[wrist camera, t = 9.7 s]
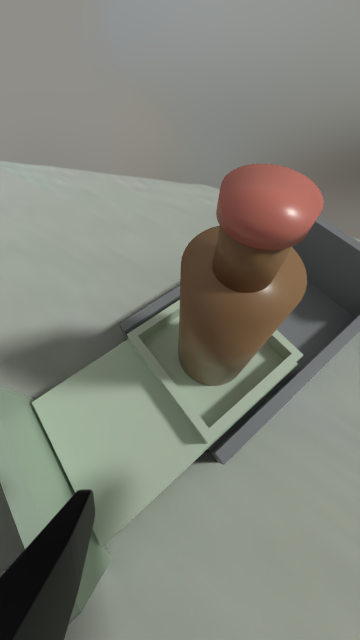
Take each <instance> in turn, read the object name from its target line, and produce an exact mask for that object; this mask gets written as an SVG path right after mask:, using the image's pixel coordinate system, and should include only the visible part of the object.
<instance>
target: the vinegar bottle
mask: <svg viewBox="0 0 360 640" xmlns="http://www.w3.org/2000/svg"><path fill="white" fill-rule="evenodd" d="M322 208H323V197H322V194H321V192H320V190H319V189H318V187H317V186H316V185H315V184H314V183H313V182H312V181H311V180H310V179H308V178H307V177H306V176H304V175H302V174H301V173H299V172H297V171H294V170H292V169H289V168H286V167H283V166H278V165H272V164H251V165H246V166H242V167H239V168H237V169H235V170H233V171H231V172H230V173H229V174H228V175H226V177H225V178H224V179H223V181H222V184H221V188H220V193H219V199H218V205H217V212H216V214H217V220H218V222H219V224H220V226H216V227H213V228H210V229H208V230H205V231H204V232H202V233H200V234H199V235H197V236H196V237H195V238H194V239H193V240H192V241H191V242H190V243H189V244H188V246H187V247H186V249H185V251H184V253H183V256H182V261H181V280H180V311H179V343H178V356H179V361H180V364H181V366H182V368H183V370H184V371H185V372H186V374H187V375H188V376H189V377H191V378H192V379H193V380H195V381H197V382H198V383H201V384H204V385H208V386H219V385H223V384H226V383H229V382H230V381H232V380H233V379H235V378H236V377H237V376H238V374H239V373H240V372H241V371H242V370H243V369H244V367H245V366H246V365H247V364H248V363H249V361H250V360H251V359H252V358H253V357H254V356H255V354H256V353H257V352H258V351H259V350H260V348H261V347H262V346H263V345H264V344H265V343H266V341H267V340H268V339H269V338H270V337H271V336H272V334H273V333H274V332H275V331H276V330H277V328H278V327H279V326H280V325H281V324H282V323H283V321H284V320H285V319H286V318H287V317H288V315H289V314H290V313H291V312H292V311H293V310H294V308H295V307H296V306H297V305H298V304H299V302H300V301H301V299H302V298H303V296H304V293H305V291H306V286H307V274H306V269H305V266H304V264H303V262H302V260H301V258H300V256H299V255H298V253H297V252H296V251H295V250H294V249H293V247H292V246H294V245H296V244H298V243H299V242H301V241H302V240H303V239H304V238H305V237H306V235H307V234H308V232H309V231H310V229H311V227H312V226H313V224H314V222H315V221H316V219H317V218H318V216H319V214H320V213H321V211H322Z"/></svg>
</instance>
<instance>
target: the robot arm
mask: <svg viewBox="0 0 360 640" xmlns="http://www.w3.org/2000/svg"><path fill="white" fill-rule="evenodd" d="M94 519H95V504H94V495H93V491H92V490H91V489H81V490H78V491H77V492H76V493H75V494H74V495H73V496H72V497H71V498H70V499H69V500H68V502H67V503H66V504H65V505H64V506H63V507H62V508H61V509H60V511H59V512H58V513H57V514H56V515H55V516H54V517H53V518H52V520H51V521H50V522H49V523H48V524H47V525H46V526H45V527H44V529H43V530H42V531H41V532H40V533H39V534H38V535H37V536H36V538H35V539H34V540H33V541H32V542H31V543H30V544H29V546H28V547H27V548H26V549H25V550H24V551H23V552H22V553H21V555H20V556H19V557H18V558H17V559H16V560H15V561H14V562H13V564H12V565H11V566H10V567H9V568H8V569H7V570H6V571H5V573H4V574H3V575H2V576H1V577H0V640H64V637H65V634H66V630H67V627H68V624H69V621H70V617H71V614H72V611H73V608H74V604H75V601H76V597H77V594H78V590H79V586H80V582H81V578H82V573H83V569H84V564H85V560H86V555H87V551H88V546H89V542H90V537H91V533H92V528H93V524H94Z"/></svg>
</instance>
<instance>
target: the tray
mask: <svg viewBox="0 0 360 640" xmlns="http://www.w3.org/2000/svg"><path fill="white" fill-rule="evenodd" d="M179 311H180V300H178V301H177V302H175V303H174V304H172V305H171V306H169V307H168V308H166V309H165V310H163V311H162V312H160V313H158V314H157V315H155V316H154V317H152V318H151V319H149V320H148V321H146V322H145V323H143V324H142V325H140V326H139V327H137V328H136V329H134V330H132V331H131V332H129V333H128V334H127V336H128V339H127V340H125V341H124V342H122V343H121V344H119V345H118V346H116V347H115V348H113V349H112V350H110V351H109V352H107V353H106V354H104V355H103V356H101V357H100V358H98V359H97V360H95V361H94V362H92V363H91V364H89V365H88V366H86V367H85V368H83V369H82V370H80V371H79V372H77V373H75V374H74V375H72V376H71V377H69V378H68V379H66V380H65V381H63V382H62V383H60V384H59V385H57V386H56V387H54V388H53V389H51V390H50V391H48V392H47V393H45V394H44V395H42V396H41V397H39V398H38V399H36V400H35V401H34V399H33V398H31V397H28V396H25V395H22V394H19V393H17V392H14V391H11V390H8V389H5V388H2V387H0V483H1V486H2V489H3V491H4V494H5V497H6V500H7V502H8V505H9V508H10V510H11V513H12V516H13V518H14V521H15V524H16V527H17V529H18V532H19V535H20V537H21V540H22V543H23V546H24V548H25V549H26V548H27V547H28V546H29V544H30V543H31V542H32V541H33V540H34V539H35V538H36V536H37V535H38V534H39V533H40V532H41V531H42V530H43V529H44V527H45V526H46V525H47V524H48V523H49V522H50V521H51V520H52V518H53V517H54V516H55V515H56V514H57V513H58V512H59V511H60V509H61V508H62V507H63V506H64V505H65V504H66V503H67V502H68V500H69V499H70V498H71V497H72V496H73V495H74V494H75V493H76V492H77V491H78V490H81V489H91V490H92V491H93V495H94V504H95V519H94V524H93V528H92V533H91V537H90V542H89V546H88V551H87V555H86V560H85V564H84V569H83V573H82V578H81V582H80V586H79V590H78V594H77V597H76V601H75V604H74V608H73V611H72V614H71V617H70V621H69V623H70V622H71V621H73V620H74V619H75V618H76V617H77V616H78V615H79V614H80V613H81V611H82V609H83V607H84V606H85V604H86V602H87V601H88V599H89V597H90V595H91V594H92V592H93V590H94V588H95V587H96V585H97V583H98V582H99V580H100V578H101V576H102V575H103V573H104V571H105V569H106V568H107V566H108V564H109V562H110V561H111V557H110V555H109V553H108V551H107V549H106V547H105V544H106V543H107V542H109V541H110V540H111V539H112V538H113V537H114V536H115V535H116V534H117V533H118V532H119V531H120V530H121V529H122V528H123V527H125V526H126V525H127V524H128V523H129V522H130V521H131V520H132V519H133V518H134V517H135V516H136V515H137V514H138V513H140V512H141V511H142V510H143V509H144V508H145V507H146V506H147V505H148V504H149V503H150V502H151V501H152V500H153V499H155V498H156V497H157V496H158V495H159V494H160V493H161V492H162V491H163V490H164V489H165V488H166V487H167V486H168V485H170V484H171V483H172V482H173V481H174V480H175V479H176V478H177V477H178V476H179V475H180V474H181V473H182V472H183V471H184V470H186V469H187V468H188V467H189V466H190V465H191V464H192V463H193V462H194V461H195V460H196V459H197V458H198V457H199V456H201V455H202V454H203V453H204V452H205V451H206V450H207V449H208V448H209V447H210V446H211V445H212V444H213V443H214V442H216V441H217V440H218V439H219V438H220V437H221V436H222V435H223V434H224V433H225V432H226V431H227V430H228V429H229V428H231V427H232V426H233V425H234V424H235V423H236V422H237V421H238V420H239V419H240V418H241V417H242V416H243V415H244V414H245V413H247V412H248V411H249V410H250V409H251V408H252V407H253V406H254V405H255V404H256V403H257V402H258V401H259V400H260V399H262V398H263V397H264V396H265V395H266V394H267V393H268V392H269V391H270V390H271V389H272V388H273V387H274V386H275V385H277V384H278V383H279V382H280V381H281V380H282V379H283V378H284V377H285V376H286V375H287V374H288V373H289V372H290V371H292V370H293V369H294V368H295V367H296V366H297V365H298V363H297V361H298V360H299V359H300V358H301V357H302V356H303V354H302V353H301V352H300V351H299V350H298V349H297V348H296V347H295V346H294V345H293V344H292V343H290V342H289V341H288V340H287V339H286V338H285V337H284V336H283V335H282V334H281V333H280V332H279V331H278V330H276V331H275V332H274V333H273V334H272V336H271V337H270V338H269V339H268V340H267V341H266V343H265V344H264V345H263V346H262V347H261V348H260V350H259V351H258V352H257V353H256V354H255V356H254V357H253V358H252V359H251V360H250V361H249V363H248V364H247V365H246V366H245V367H244V369H243V370H242V371H241V372H240V373H239V374H238V376H237V377H236V378H235V379H233V380H232V381H230V382H229V383H226V384H223V385H219V386H208V385H204V384H201V383H198V382H197V381H195V380H193V379H192V378H191V377H189V376H188V375H187V374H186V372H185V371H184V370H183V368H182V366H181V364H180V361H179V356H178V343H179Z"/></svg>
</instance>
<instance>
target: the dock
mask: <svg viewBox="0 0 360 640" xmlns="http://www.w3.org/2000/svg"><path fill="white" fill-rule="evenodd" d="M292 247H293V249H294V250H295V251H296V252H297V253H298V255H299V256H300V258H301V260H302V262H303V264H304V266H305V269H306V274H307V286H306V291H305V293H304V296H303V298H302V299H301V301H300V302H299V304H298V305H297V306H296V307H295V308H294V310H293V311H292V312H291V313H290V314H289V315H288V317H287V318H286V319H285V320H284V321H283V323H282V324H281V325H280V326H279V327H278V328H277V330H278V331H279V332H280V333H281V334H282V335H283V336H284V337H285V338H286V339H287V340H288V341H289V342H290V343H292V344H293V345H294V346H295V347H296V348H297V349H298V350H299V351H300V352H301V353H302V354H303V356H302V357H301V358H300V359H299V360H298V361H297V363H298V365H297V366H296V367H295V368H294V369H293V370H292V371H290V372H289V373H288V374H287V375H286V376H285V377H284V378H283V379H282V380H281V381H280V382H279V383H278V384H277V385H275V386H274V387H273V388H272V389H271V390H270V391H269V392H268V393H267V394H266V395H265V396H264V397H263V398H262V399H260V400H259V401H258V402H257V403H256V404H255V405H254V406H253V407H252V408H251V409H250V410H249V411H248V412H247V413H245V414H244V415H243V416H242V417H241V418H240V419H239V420H238V421H237V422H236V423H235V424H234V425H233V426H232V427H231V428H229V429H228V430H227V431H226V432H225V433H224V434H223V435H222V436H221V437H220V438H219V439H218V440H217V441H216V442H214V443H213V444H212V445H211V446H210V447H209V448H208V450H209V451H210V453H211V454H212V455H213V457H214V458H215V460H216V461H217V462H218V463H221V464H225V463H226V462H227V461H228V460H229V459H230V458H231V457H232V456H233V455H234V454H235V453H236V452H237V451H238V450H239V449H240V448H241V447H242V446H243V445H244V444H245V443H246V442H247V441H248V440H249V439H250V438H251V437H252V436H253V435H254V434H255V433H256V432H257V431H258V430H259V429H260V428H261V427H262V426H263V425H264V424H266V423H267V422H268V421H269V420H270V419H271V418H272V417H273V416H274V415H275V414H276V413H277V412H278V411H279V410H280V409H281V408H282V407H283V406H284V405H285V404H286V403H287V402H288V401H289V400H290V399H291V398H292V397H293V396H294V395H295V394H296V393H297V392H298V391H299V390H300V389H301V388H302V387H303V386H304V385H305V384H306V383H307V382H308V381H309V380H310V379H311V378H312V377H313V376H314V375H315V374H316V373H317V372H318V371H319V370H320V369H321V368H322V367H323V366H324V365H325V364H326V363H327V362H328V361H329V360H330V359H331V358H332V357H333V356H334V355H335V354H336V353H337V352H338V351H339V350H340V349H341V348H342V347H343V346H344V345H345V344H347V343H348V342H349V341H350V340H351V339H352V338H353V337H354V336H355V335H356V334H357V333H358V332H359V331H360V242H358V241H357V240H355V239H353V238H352V237H350V236H349V235H347V234H346V233H344V232H343V231H341V230H340V229H338V228H337V227H335V226H334V225H332V224H331V223H329V222H327V221H326V220H324V219H323V218H321V217H320V216H318V218H317V219H316V221H315V222H314V224H313V226H312V227H311V229H310V231H309V232H308V234H307V235H306V237H305V238H304V239H303V240H302V241H301V242H299V243H298V244H296V245H294V246H292ZM178 300H180V286H178V287H177V288H175V289H173V290H172V291H170V292H169V293H167V294H165V295H164V296H162V297H161V298H159V299H158V300H156V301H154V302H153V303H151V304H150V305H148V306H146V307H145V308H143V309H142V310H140V311H138V312H137V313H135V314H134V315H132V316H131V317H129V318H127V319H126V320H124V321H123V322H121V323H119V325H120V328H121V330H122V332H123V334H124V336H125V338H126V339H128V336H127V334H128V333H129V332H131V331H132V330H134V329H136V328H137V327H139V326H140V325H142V324H143V323H145V322H146V321H148V320H149V319H151V318H152V317H154V316H155V315H157V314H158V313H160V312H162V311H163V310H165V309H166V308H168V307H169V306H171V305H172V304H174V303H175V302H177V301H178Z"/></svg>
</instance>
